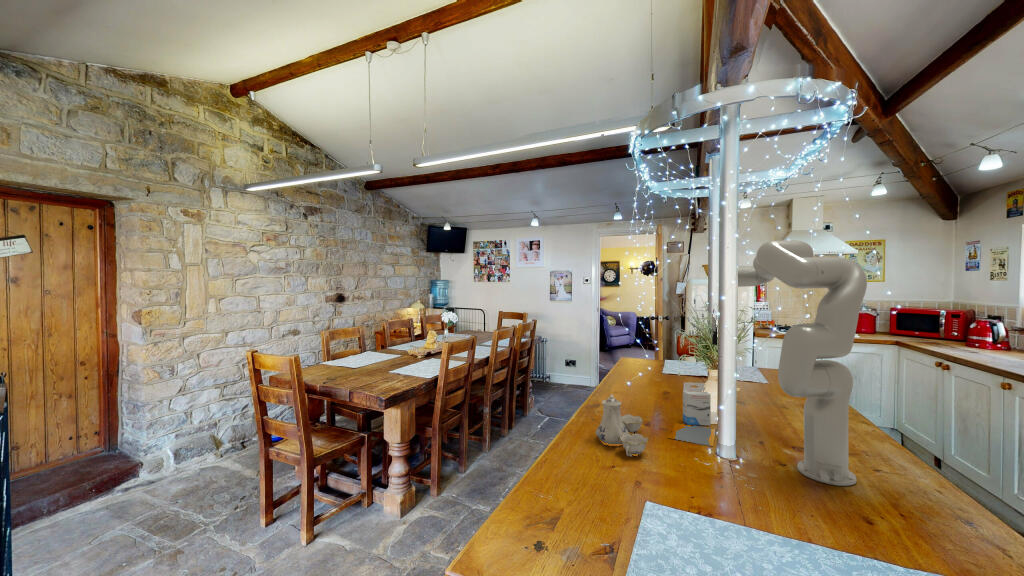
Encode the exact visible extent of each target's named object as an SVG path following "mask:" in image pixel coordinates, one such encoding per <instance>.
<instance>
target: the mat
mask: <svg viewBox="0 0 1024 576" xmlns="http://www.w3.org/2000/svg"><path fill="white" fill-rule="evenodd" d="M684 427H685V428H682V429H679V431H678V430H677V431H676V436H675V439H676V440H675V441H678V440H681V441H680V442H683V441H686V442H685V443H688V442H691V443H690V444H694V443H695V444H694V445H699V444H700V446H704V445H708V446H707V447H710V444H709V441H708V440H709V437H710V435H711V428H712V427H708V426H707V427H706V426H702V425H693V426H689V427H688V426H687V425H686V426H684ZM714 429H715V436H717V432H716V429H717V428H714ZM707 439H708V440H707Z"/></svg>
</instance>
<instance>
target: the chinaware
mask: <svg viewBox="0 0 1024 576" xmlns="http://www.w3.org/2000/svg"><path fill="white" fill-rule="evenodd" d="M601 403H602V406H603V407H602V408H603V414H602V419H601V421H600V424H599V426H598V427H597V428H596V430H595V435H596V437H597V438H598V439H599V441H600V440H601V441H603V442H604V443H608V444H623V446H622V447H623V449H624V450H625V452H626V456H627V457H633V456H632V454H635V455H636V454H639V455H640V454H641V453H643V452H644V451H645V449H646V445H647V443H648V442H649V438H648V437H644V436H643V435H642V434H640V433H638V431H639V430H640V429H641V427H642V423H644V420H643V418H642V417H641V416H639V415H635V416H634V415H632V414H623V416H622V415H621V405H622V402H621V401H619V400H617V399H616V398H615V396H614V395H613V394H610V395H609V397H607V398H606V399H604V400H602V401H601ZM629 432H630V433H634V432H635V434H632V435H631V434H629Z"/></svg>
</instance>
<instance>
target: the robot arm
mask: <svg viewBox="0 0 1024 576" xmlns="http://www.w3.org/2000/svg"><path fill="white" fill-rule="evenodd" d="M737 266H738V287H739V288H740V287H744V288H745V287H757V286H760V285H763V284H767V283H770V282H772V280H774V279H775V278H776V279H777V280H778V281H780V282H782V283H784V285H786V286H788V287H791V288H794V289H800V290H802V289H803V290H804V289H806V290H807V289H828V291H827V292H826V293H825V295H823V296H822V298H821V300H820V301H819V303H818V305H817V308H816V315H815V319H814V321H812V322H811V323H810V322H809V323H798V324H795V325H793V326H790V328H789V329H788V330H787V331H786V332H785V333H784V336H783V339H782V344H781V350H780V357H779V362H778V363H779V364H778V370H777V379H778V384H779V386H780V388H781V390H782V391H783V392H784V393H785V394H787V395H789V396H791V397H794V398H806V400H805V402H804V407H803V460H800V461H798V462H797V470H798V471H799V473H800V474H802V475H804V476H805V477H807V478H810V479H812V480H813V481H816V482H820V483H823V484H827V485H833V486H837V487H838V486H840V487H841V486H842V487H847V486H848V487H849V486H854V485H855V484H856V483H857V476H856V474H855V473H853V472H852V471H851V470H849V410H850V408H849V406H850V400H851V395H852V391H853V388H854V378H853V374H852V372H851V370H850V369H849V368H848V367H847V366H846V365H844V364H843V363H841V362H838V361H836V360H832V359H838V358H843V357H846V356H849V354H850V353H851V351H852V350H853V346H854V342H855V336H856V331H857V327H858V321H859V316H860V315H859V314H860V310H861V307H862V303H863V301H864V298H865V296H866V295H865V294H866V292H867V288H868V279H867V276H866V273H865V271H864V269H863V268H862V267H861V265H859V264H858V263H857V262H856V261H854V260H852V259H849V258H846V257H841V256H840V257H839V256H817V257H816V256H815V257H814V250H813V248H812V246H811V245H810V244H808V243H807V242H805V241H802V240H794V239H793V240H792V239H791V240H789V239H788V240H787V239H786V240H770V241H766V242H764V243H763V244H762V245H760V246H759V248H758V249H757V251H756V256H755V257H754V259H753V261H752V265H737ZM738 287H737V288H738ZM711 328H712V329H711V330H712V331H711V332H712V333H711V335H712V336H711V338H712V345H713V346H718V345H717V327H716V320H715V318H714V317H713V314H712V313H711ZM829 359H831V360H829Z"/></svg>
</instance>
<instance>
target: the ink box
mask: <svg viewBox="0 0 1024 576" xmlns="http://www.w3.org/2000/svg"><path fill="white" fill-rule="evenodd" d="M704 385H705V387H704ZM693 386H695V387H693ZM704 390H705V391H706V383H705V382H683V389H682V421H683V423H684V424H687V425H695V426H711V415H712V414H711V412H712V411H711V407H712V406H711V402H712V401H711V399H712V398H711V393H709V392H707V391H706V392H704ZM702 391H703V392H702Z"/></svg>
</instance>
